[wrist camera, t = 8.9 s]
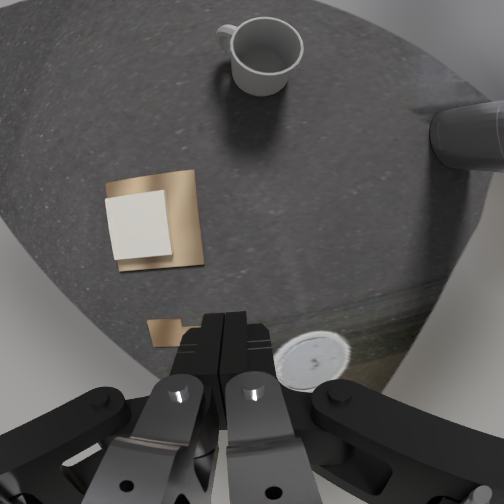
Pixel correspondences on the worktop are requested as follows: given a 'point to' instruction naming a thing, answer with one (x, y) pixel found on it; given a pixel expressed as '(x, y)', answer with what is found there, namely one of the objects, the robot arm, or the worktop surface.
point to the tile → (139, 225)
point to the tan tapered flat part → (167, 332)
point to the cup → (261, 53)
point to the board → (180, 216)
